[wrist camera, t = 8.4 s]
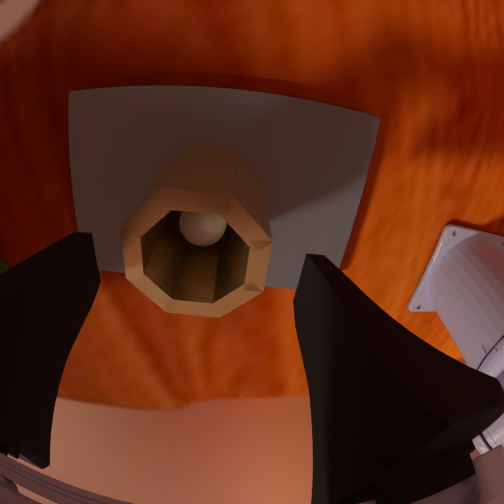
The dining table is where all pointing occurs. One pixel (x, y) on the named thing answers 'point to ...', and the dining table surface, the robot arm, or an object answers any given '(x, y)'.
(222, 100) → the pin board
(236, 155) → the wooden collar
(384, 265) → the dining table surface
